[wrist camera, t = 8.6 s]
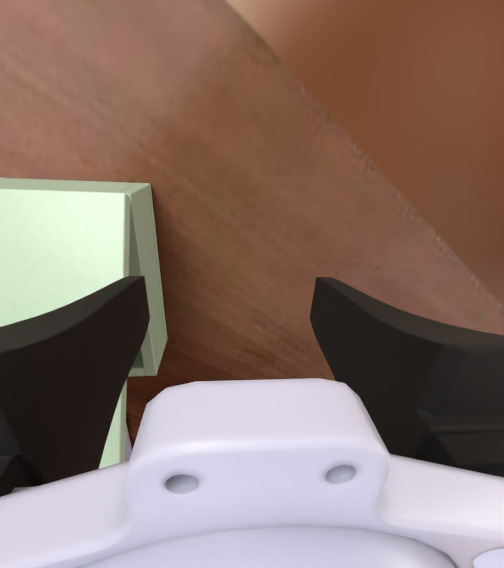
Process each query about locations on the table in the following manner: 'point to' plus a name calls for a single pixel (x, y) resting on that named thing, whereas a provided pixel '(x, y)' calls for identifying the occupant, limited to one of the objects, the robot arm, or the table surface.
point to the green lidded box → (140, 255)
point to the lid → (63, 262)
